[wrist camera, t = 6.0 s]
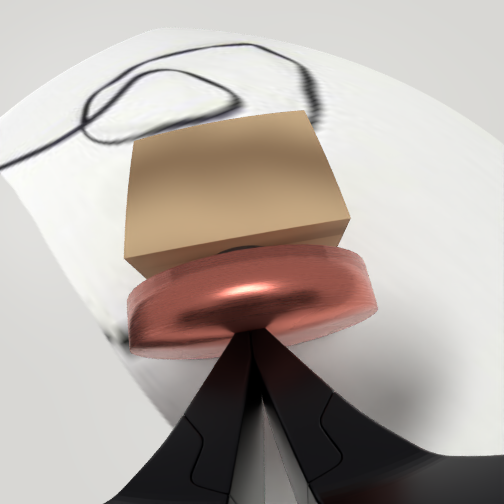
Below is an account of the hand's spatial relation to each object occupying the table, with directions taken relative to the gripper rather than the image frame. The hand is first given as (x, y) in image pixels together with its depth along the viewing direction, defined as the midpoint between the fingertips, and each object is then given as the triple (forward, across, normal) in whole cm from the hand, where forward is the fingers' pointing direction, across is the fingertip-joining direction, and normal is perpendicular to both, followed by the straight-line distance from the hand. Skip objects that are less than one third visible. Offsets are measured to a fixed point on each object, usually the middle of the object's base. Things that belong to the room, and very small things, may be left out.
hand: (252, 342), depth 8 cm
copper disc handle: (+9, 0, +1) cm, 9 cm away
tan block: (+10, 0, 0) cm, 10 cm away
